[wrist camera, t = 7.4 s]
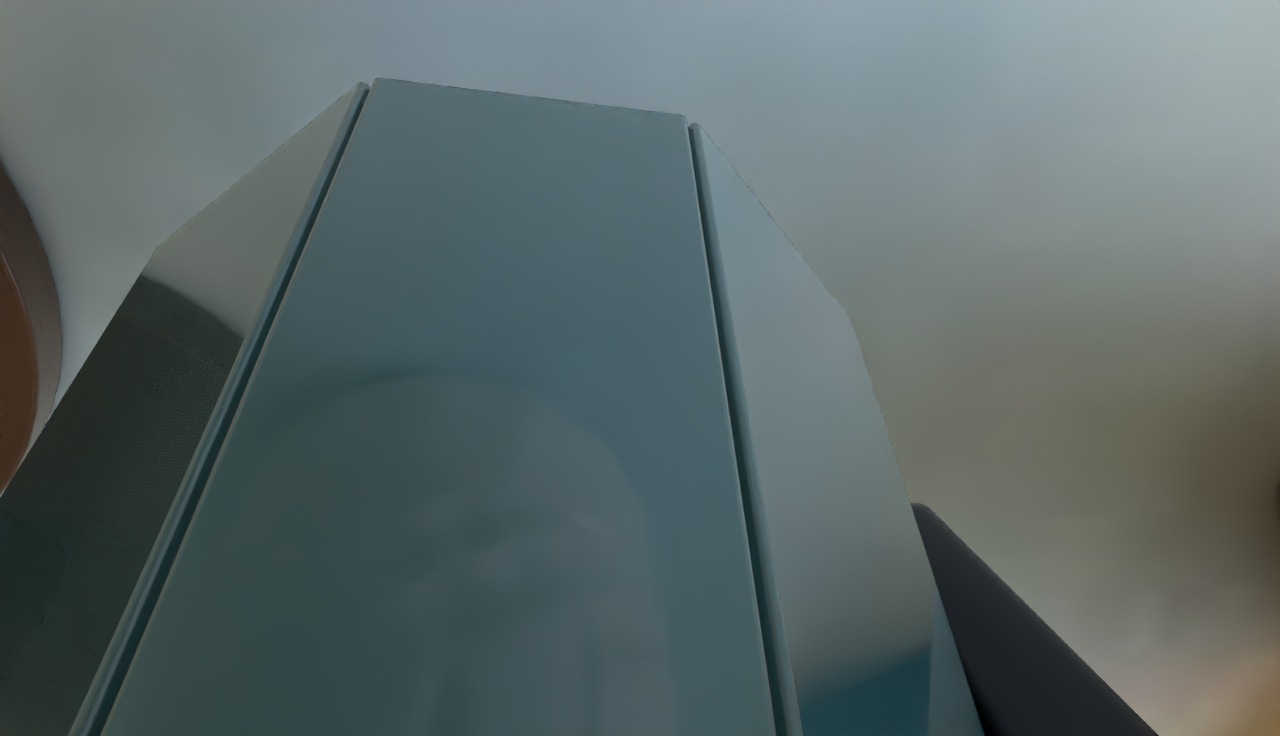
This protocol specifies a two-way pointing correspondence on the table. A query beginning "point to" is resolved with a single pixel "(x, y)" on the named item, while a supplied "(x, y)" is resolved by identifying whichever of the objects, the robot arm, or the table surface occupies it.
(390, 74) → the table surface
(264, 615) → the cup
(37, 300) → the holder
